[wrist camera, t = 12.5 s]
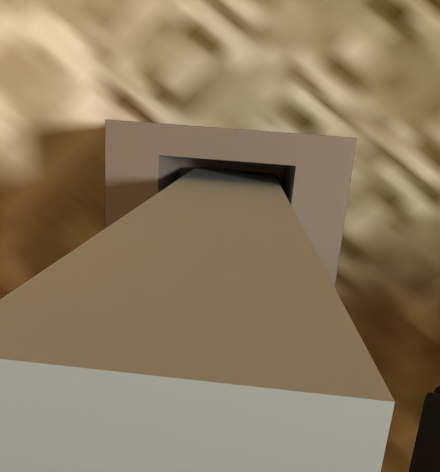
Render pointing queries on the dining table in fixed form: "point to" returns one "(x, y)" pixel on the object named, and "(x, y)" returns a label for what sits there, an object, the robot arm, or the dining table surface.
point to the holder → (234, 158)
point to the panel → (190, 346)
